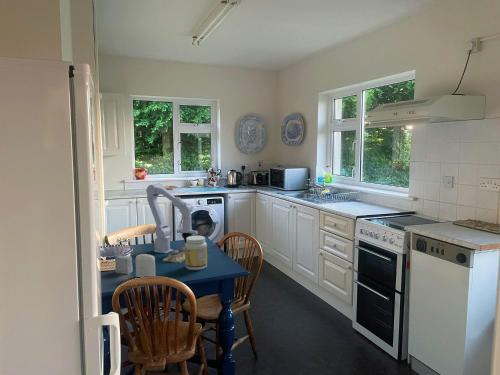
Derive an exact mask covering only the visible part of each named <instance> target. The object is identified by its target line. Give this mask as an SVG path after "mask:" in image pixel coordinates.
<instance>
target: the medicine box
mask: <svg viewBox="0 0 500 375" xmlns="http://www.w3.org/2000/svg"><path fill="white" fill-rule="evenodd" d="M132 257H133V256H130V255H129V256H128V255H118V256H116V257H114V260H115V261H114V263H115V273H116V274H123V275H129V274H131V273H133V270H134V269H133V258H132Z"/></svg>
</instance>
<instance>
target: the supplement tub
mask: <svg viewBox="0 0 500 375" xmlns="http://www.w3.org/2000/svg"><path fill="white" fill-rule="evenodd" d="M184 244H185V243H184ZM207 246H208V244H207V242H206V237H205V236H204V235H192V236H190V237H187V238H186V244H185V266H184V267H185V269H187V270H191V271H200V270H203V269H205V268H207V266H208V247H207Z"/></svg>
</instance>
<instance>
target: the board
mask: <svg viewBox="0 0 500 375" xmlns="http://www.w3.org/2000/svg"><path fill="white" fill-rule="evenodd" d="M183 247H184V246H183ZM184 248H185V247H184ZM184 261H185V251H183V252H179V253H178V254H177V255H173V254H171V253H170V254H167V257H165V258H163V259H162V262H171V263H179V264H181V263H182V262H184Z"/></svg>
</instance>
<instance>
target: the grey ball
mask: <svg viewBox="0 0 500 375" xmlns="http://www.w3.org/2000/svg"><path fill="white" fill-rule="evenodd" d="M177 250H178V251H179V252H183V251H185V248H184V246H180V247H179V246H178V247H177Z"/></svg>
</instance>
